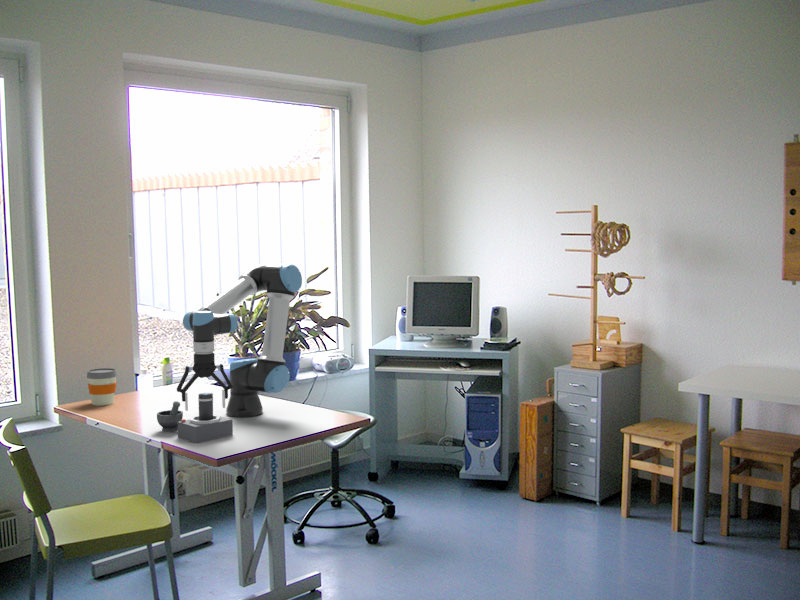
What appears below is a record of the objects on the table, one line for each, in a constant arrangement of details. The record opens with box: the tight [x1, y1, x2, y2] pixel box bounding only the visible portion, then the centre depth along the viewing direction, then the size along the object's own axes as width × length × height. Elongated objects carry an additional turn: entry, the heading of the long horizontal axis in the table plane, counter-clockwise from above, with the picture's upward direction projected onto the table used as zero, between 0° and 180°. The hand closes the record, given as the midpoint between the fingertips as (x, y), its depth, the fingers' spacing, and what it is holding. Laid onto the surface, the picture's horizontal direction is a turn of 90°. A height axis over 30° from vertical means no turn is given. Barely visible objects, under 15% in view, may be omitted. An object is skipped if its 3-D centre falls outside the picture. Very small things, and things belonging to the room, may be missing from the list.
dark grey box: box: [177, 414, 234, 444], centre depth 288 cm, size 16×12×7 cm
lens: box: [197, 392, 214, 421], centre depth 288 cm, size 5×5×10 cm
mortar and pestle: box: [156, 400, 184, 433], centre depth 296 cm, size 11×9×12 cm
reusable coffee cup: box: [86, 367, 118, 406], centre depth 344 cm, size 13×13×15 cm
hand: (205, 408), depth 288 cm, fingers open, 13 cm apart
